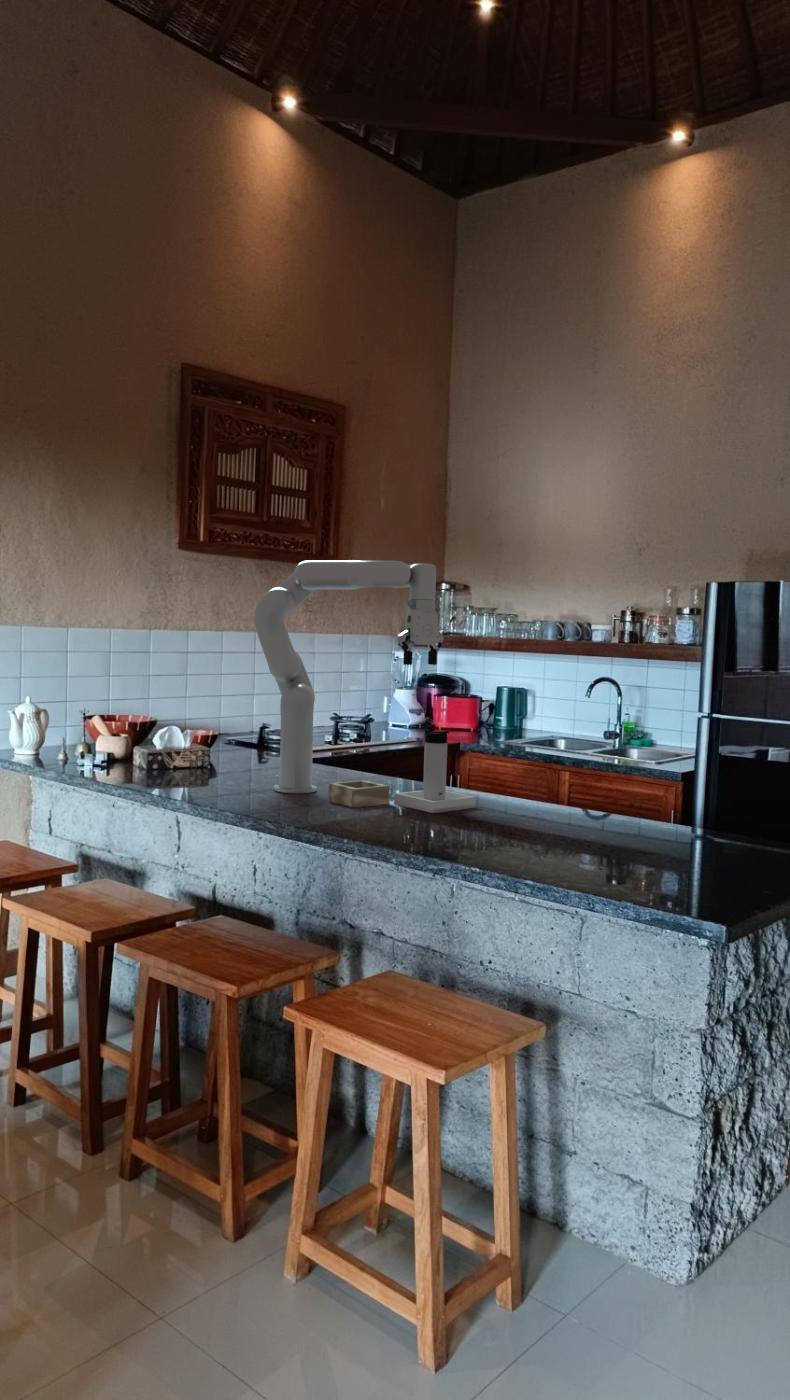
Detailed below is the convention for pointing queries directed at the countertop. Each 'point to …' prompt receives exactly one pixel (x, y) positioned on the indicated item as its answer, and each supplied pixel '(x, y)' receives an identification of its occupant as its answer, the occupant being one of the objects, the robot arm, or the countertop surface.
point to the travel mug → (435, 765)
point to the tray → (449, 804)
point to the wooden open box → (358, 793)
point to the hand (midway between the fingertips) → (420, 664)
